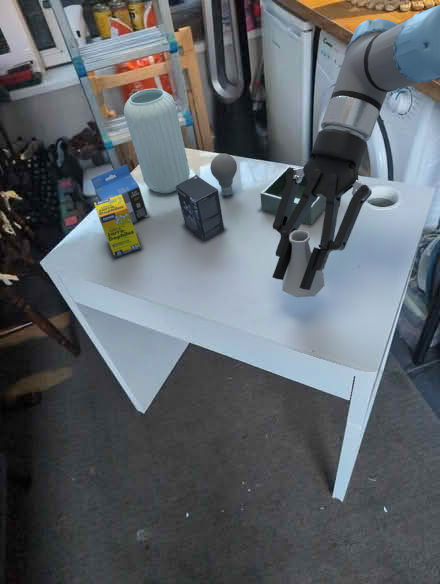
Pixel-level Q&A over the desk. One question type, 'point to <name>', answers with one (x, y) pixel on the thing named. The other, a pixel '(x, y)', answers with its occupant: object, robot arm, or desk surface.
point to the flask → (300, 267)
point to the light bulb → (224, 171)
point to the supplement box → (117, 225)
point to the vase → (157, 139)
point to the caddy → (274, 194)
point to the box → (200, 207)
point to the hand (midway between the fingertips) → (291, 283)
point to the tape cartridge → (121, 191)
